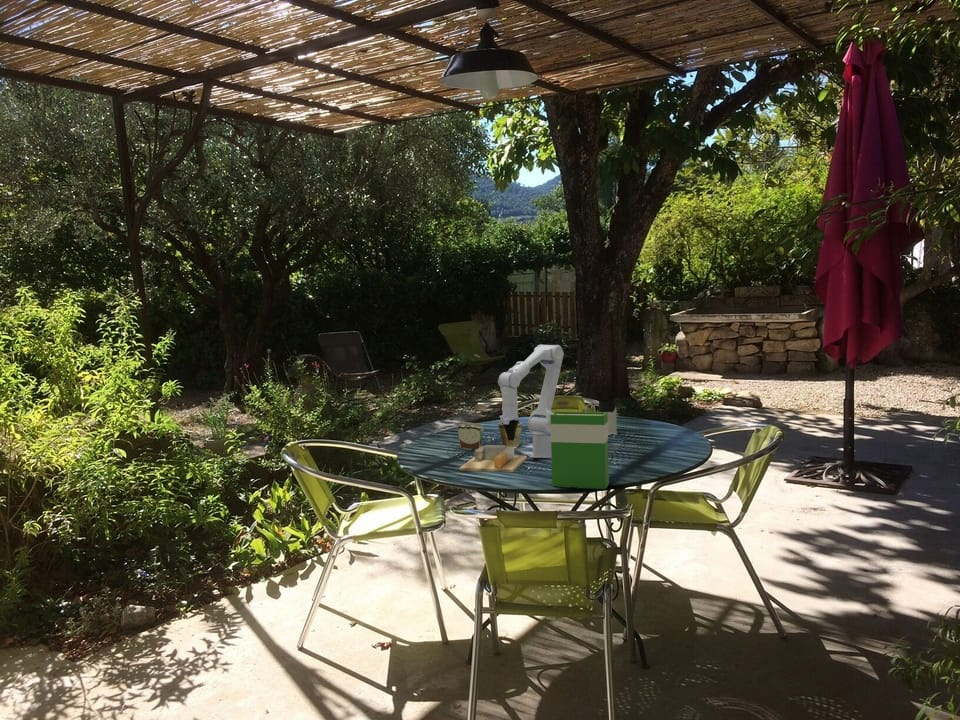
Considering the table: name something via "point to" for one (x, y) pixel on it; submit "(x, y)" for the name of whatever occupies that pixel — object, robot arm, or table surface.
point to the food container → (470, 435)
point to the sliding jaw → (503, 457)
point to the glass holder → (609, 414)
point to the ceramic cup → (505, 440)
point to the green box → (580, 449)
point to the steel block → (492, 451)
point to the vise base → (491, 463)
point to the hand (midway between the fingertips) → (511, 440)
